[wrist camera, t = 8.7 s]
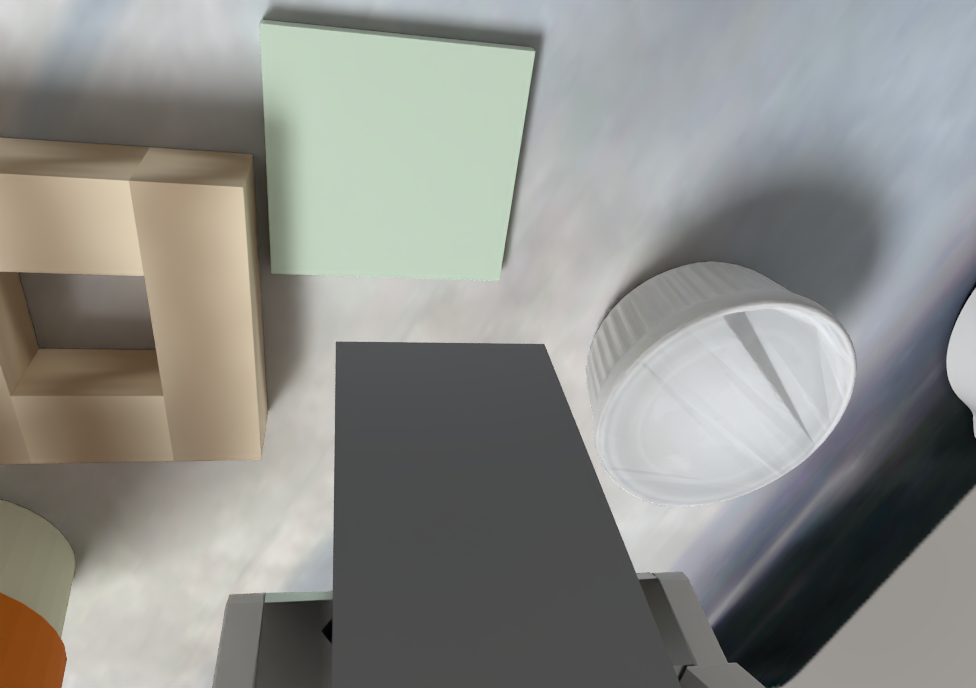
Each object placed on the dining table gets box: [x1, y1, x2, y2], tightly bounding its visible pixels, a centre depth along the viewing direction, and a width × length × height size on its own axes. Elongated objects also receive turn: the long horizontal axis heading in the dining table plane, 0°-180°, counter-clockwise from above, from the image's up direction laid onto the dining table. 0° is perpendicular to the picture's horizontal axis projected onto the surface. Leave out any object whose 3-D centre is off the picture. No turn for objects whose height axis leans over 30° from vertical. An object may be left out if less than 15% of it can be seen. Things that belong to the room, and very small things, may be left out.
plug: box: [332, 342, 682, 688], centre depth 11 cm, size 4×4×9 cm
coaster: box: [260, 20, 535, 281], centre depth 26 cm, size 9×9×1 cm
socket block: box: [0, 137, 268, 464], centre depth 26 cm, size 12×12×3 cm
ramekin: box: [586, 261, 857, 507], centre depth 32 cm, size 11×11×5 cm
